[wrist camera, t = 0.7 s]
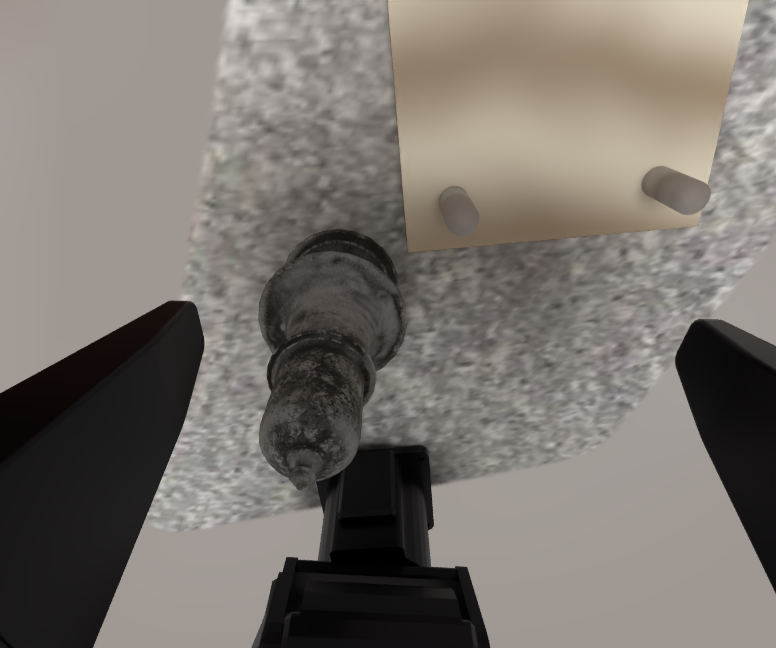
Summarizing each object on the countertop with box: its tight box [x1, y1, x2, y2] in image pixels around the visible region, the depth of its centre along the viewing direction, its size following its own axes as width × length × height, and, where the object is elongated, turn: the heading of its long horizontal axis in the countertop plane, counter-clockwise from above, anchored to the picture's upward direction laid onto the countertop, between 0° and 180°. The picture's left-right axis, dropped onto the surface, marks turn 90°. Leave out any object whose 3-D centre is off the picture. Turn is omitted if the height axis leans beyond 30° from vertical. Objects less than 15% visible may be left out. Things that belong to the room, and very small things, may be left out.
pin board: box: [387, 0, 749, 253], centre depth 17 cm, size 12×12×4 cm
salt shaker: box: [259, 230, 407, 490], centre depth 17 cm, size 6×6×12 cm
